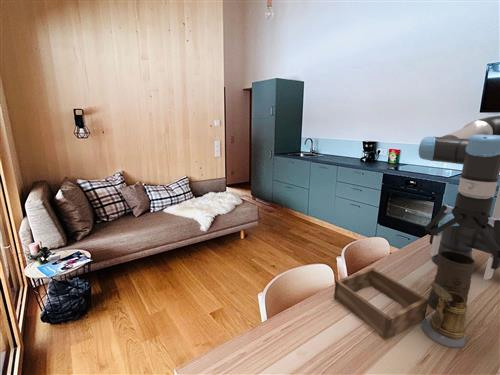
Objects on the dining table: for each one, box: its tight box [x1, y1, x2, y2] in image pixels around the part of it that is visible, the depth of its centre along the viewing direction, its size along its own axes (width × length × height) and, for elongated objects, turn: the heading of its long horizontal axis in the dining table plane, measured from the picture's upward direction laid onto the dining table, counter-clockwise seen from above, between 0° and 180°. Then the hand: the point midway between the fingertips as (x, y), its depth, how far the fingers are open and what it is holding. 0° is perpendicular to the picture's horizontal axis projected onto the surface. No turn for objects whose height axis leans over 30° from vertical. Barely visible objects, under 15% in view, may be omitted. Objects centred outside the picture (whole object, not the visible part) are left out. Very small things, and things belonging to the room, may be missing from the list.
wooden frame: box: [333, 267, 429, 341], centre depth 93 cm, size 19×21×7 cm
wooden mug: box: [430, 281, 468, 339], centre depth 81 cm, size 9×14×18 cm, turn 110°
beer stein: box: [427, 250, 476, 311], centre depth 94 cm, size 15×11×20 cm
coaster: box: [421, 317, 466, 349], centre depth 83 cm, size 11×11×1 cm
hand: (458, 265), depth 77 cm, fingers open, 13 cm apart
